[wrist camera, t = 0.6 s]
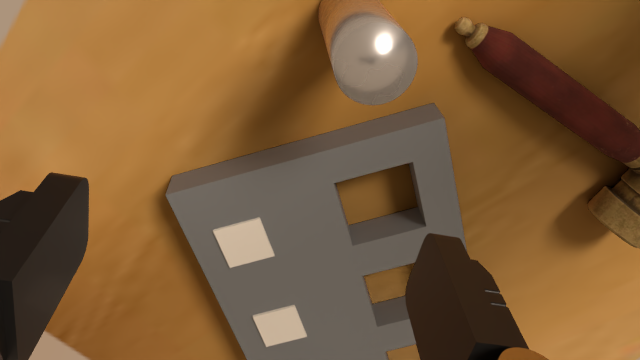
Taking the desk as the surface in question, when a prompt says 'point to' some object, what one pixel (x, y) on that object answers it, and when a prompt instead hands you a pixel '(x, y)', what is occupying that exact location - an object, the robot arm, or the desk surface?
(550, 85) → the gavel
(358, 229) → the pin board
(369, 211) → the desk surface
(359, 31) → the steel pin
